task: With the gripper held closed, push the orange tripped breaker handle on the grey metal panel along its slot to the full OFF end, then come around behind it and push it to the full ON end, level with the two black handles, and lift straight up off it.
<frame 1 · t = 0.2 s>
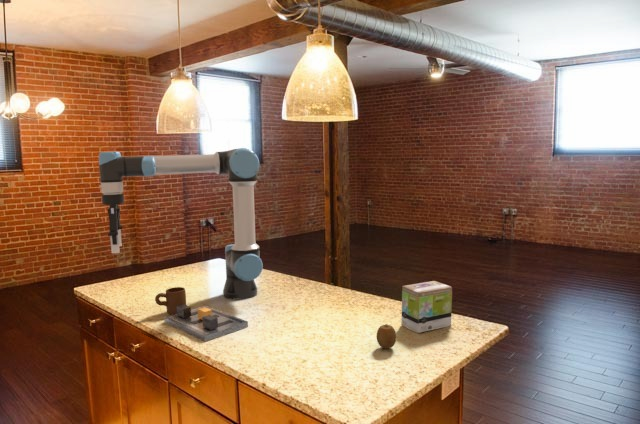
hand: (116, 249, 178), 28 cm above the worktop, fingers open, 13 cm apart
breaker handle: (204, 314, 174), point 4 cm above the worktop, slide at 0.0 cm
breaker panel: (205, 324, 174), on the worktop
tea box: (426, 326, 168), on the worktop
fruit: (386, 349, 150), on the worktop
mug: (171, 314, 188), on the worktop
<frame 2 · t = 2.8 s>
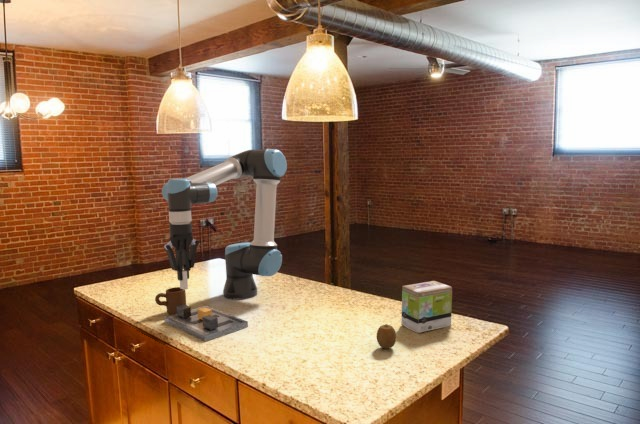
hand: (184, 288, 167), 16 cm above the worktop, fingers closed
nothing on the worktop moved.
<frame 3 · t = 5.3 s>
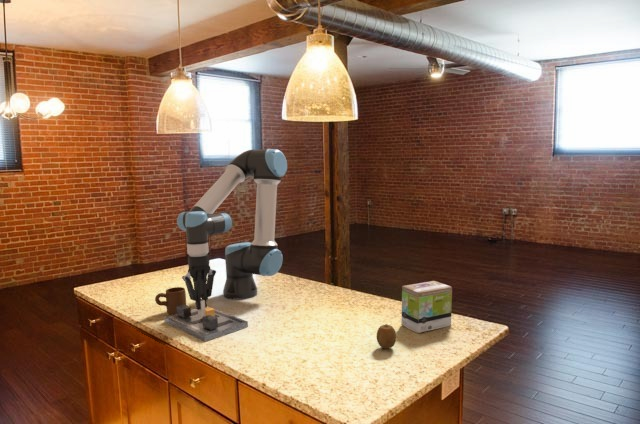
hand: (202, 317, 173), 3 cm above the worktop, fingers closed
breaker handle: (207, 313, 175), point 4 cm above the worktop, slide at -1.0 cm, touching gripper
everything else where it was.
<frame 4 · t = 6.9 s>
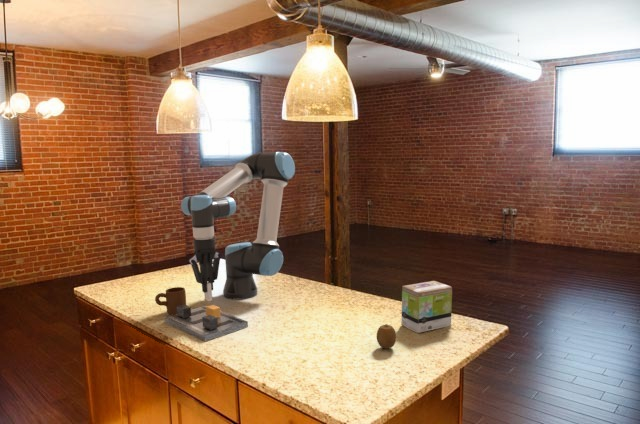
hand: (208, 299, 175), 9 cm above the worktop, fingers closed
breaker handle: (213, 311, 177), point 4 cm above the worktop, slide at -3.6 cm
everything else where it was.
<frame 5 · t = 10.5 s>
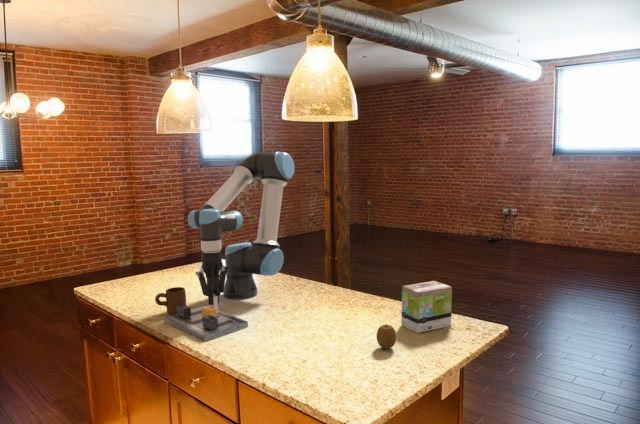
hand: (214, 312, 177), 4 cm above the worktop, fingers closed
breaker handle: (209, 312, 175), point 4 cm above the worktop, slide at -1.8 cm, touching gripper
everything else where it was.
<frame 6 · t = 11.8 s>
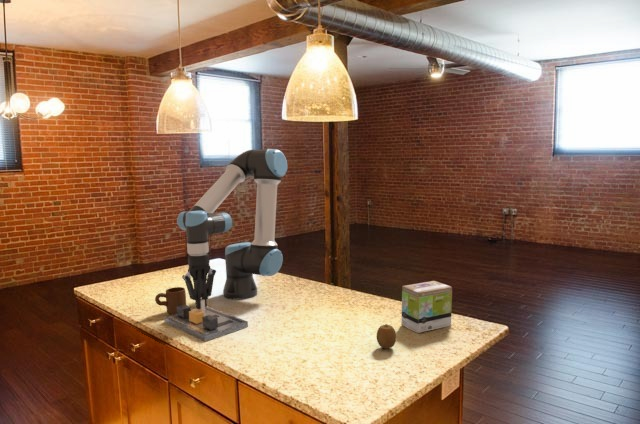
hand: (201, 316, 173), 3 cm above the worktop, fingers closed
breaker handle: (196, 316, 171), point 4 cm above the worktop, slide at 3.5 cm, touching gripper
everything else where it was.
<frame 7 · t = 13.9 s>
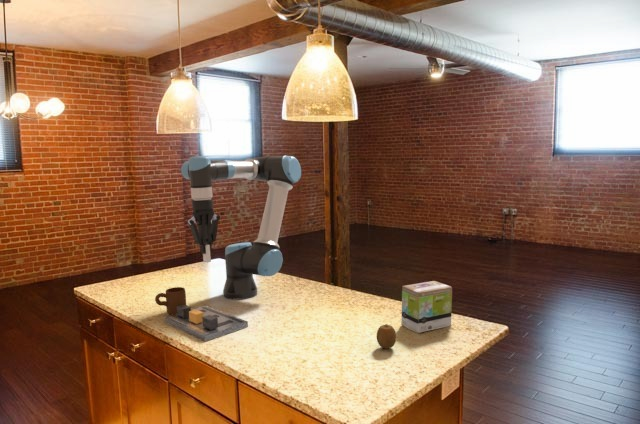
hand: (207, 261, 175), 23 cm above the worktop, fingers closed
breaker handle: (196, 316, 171), point 4 cm above the worktop, slide at 3.6 cm
everything else where it was.
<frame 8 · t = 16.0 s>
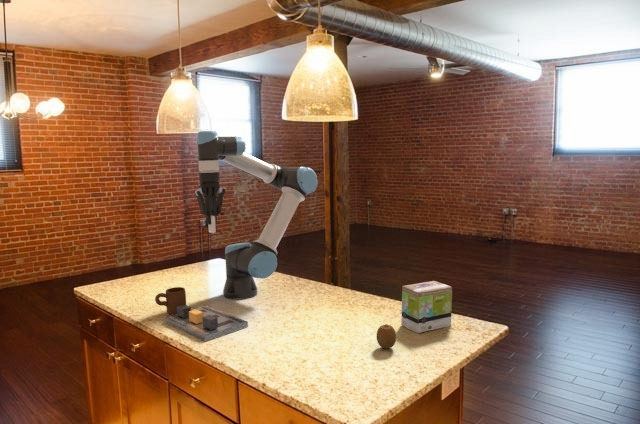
hand: (212, 232, 184), 32 cm above the worktop, fingers closed
nothing on the worktop moved.
at the end: breaker handle slide at 3.6 cm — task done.
